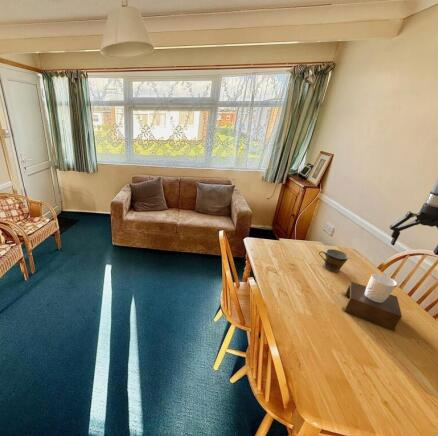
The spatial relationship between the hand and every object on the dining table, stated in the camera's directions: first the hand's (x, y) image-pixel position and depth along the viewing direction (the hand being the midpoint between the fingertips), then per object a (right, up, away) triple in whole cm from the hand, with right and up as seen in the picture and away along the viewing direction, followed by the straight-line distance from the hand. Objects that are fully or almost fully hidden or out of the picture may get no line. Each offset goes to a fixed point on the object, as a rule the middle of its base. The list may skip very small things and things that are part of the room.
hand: (413, 248), depth 103 cm
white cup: (-20, -22, -2) cm, 29 cm away
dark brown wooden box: (-20, -29, +1) cm, 35 cm away
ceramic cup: (-15, -15, +30) cm, 37 cm away
